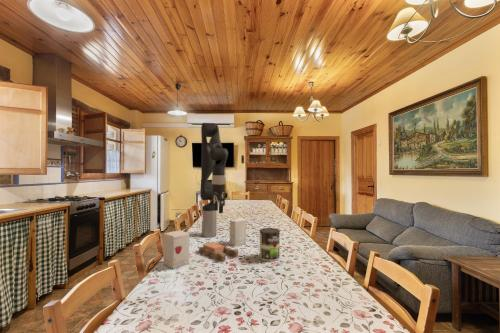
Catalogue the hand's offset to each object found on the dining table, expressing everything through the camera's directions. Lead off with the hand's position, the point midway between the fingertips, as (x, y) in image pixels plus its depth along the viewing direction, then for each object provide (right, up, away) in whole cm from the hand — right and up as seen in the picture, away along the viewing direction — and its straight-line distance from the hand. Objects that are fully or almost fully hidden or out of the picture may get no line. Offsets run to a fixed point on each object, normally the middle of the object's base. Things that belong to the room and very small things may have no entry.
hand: (218, 211), depth 147 cm
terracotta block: (-2, -21, -8) cm, 22 cm away
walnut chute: (+1, -21, -10) cm, 23 cm away
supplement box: (-17, -21, -23) cm, 36 cm away
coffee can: (+28, -21, -14) cm, 38 cm away
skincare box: (+11, -21, +8) cm, 25 cm away
